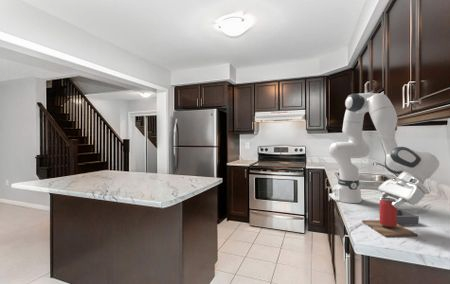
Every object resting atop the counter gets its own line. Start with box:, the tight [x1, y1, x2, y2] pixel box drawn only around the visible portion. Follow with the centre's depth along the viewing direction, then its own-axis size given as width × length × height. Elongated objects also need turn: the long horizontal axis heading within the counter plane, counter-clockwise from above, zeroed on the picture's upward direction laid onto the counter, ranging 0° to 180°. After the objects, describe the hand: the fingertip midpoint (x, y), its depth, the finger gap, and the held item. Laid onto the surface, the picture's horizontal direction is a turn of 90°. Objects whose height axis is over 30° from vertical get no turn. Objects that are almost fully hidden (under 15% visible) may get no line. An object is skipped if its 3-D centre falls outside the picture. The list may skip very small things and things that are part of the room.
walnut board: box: [361, 219, 418, 238], centre depth 105 cm, size 16×14×1 cm
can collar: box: [397, 208, 420, 226], centre depth 115 cm, size 11×11×4 cm
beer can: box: [379, 197, 398, 227], centre depth 105 cm, size 7×7×12 cm
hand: (386, 203), depth 105 cm, fingers closed on beer can, 7 cm apart
